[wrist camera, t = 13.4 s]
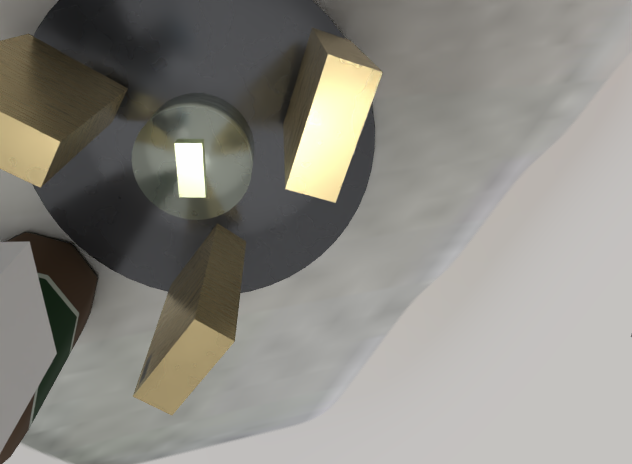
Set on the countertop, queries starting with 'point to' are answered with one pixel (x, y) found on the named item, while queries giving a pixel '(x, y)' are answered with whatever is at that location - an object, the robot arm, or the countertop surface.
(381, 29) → the countertop surface
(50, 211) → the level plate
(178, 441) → the countertop surface
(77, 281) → the beer bottle
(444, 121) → the countertop surface
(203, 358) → the tan rectangular block
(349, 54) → the knob
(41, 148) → the knob
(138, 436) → the countertop surface
